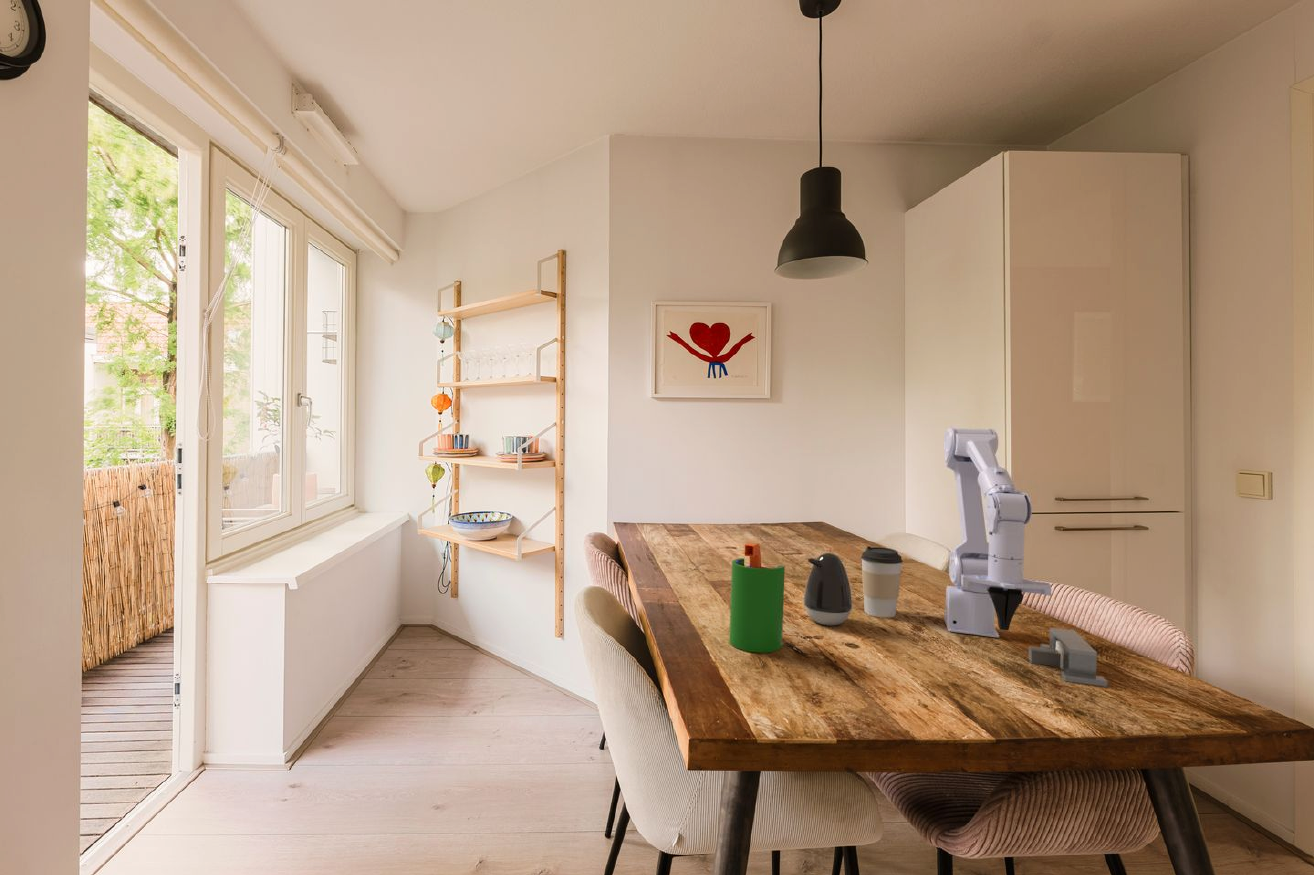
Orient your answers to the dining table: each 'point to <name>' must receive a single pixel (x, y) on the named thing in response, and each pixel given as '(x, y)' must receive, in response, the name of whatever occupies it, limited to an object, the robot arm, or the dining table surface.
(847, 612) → the black penguin figurine
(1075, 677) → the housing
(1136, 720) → the dining table surface
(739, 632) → the motor
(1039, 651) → the plug
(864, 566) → the coffee cup
